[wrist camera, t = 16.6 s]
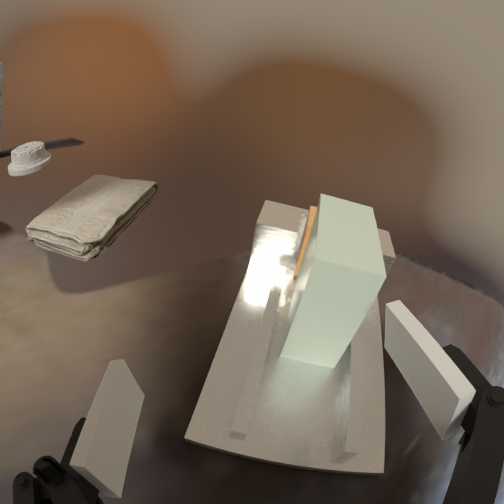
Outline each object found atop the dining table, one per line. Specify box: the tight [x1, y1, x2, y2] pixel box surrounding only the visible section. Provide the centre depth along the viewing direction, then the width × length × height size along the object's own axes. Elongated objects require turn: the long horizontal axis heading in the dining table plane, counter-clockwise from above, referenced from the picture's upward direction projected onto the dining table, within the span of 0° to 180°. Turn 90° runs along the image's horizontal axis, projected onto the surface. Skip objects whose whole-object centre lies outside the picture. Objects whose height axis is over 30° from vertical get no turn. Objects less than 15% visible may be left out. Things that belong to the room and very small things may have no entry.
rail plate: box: [184, 200, 396, 476], centre depth 25 cm, size 14×24×6 cm, turn 167°
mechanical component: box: [8, 141, 52, 176], centre depth 47 cm, size 10×4×10 cm
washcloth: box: [26, 174, 159, 261], centre depth 36 cm, size 12×18×3 cm, turn 170°
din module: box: [280, 194, 386, 368], centre depth 24 cm, size 4×9×10 cm, turn 167°
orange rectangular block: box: [294, 206, 317, 276], centre depth 31 cm, size 5×4×6 cm
